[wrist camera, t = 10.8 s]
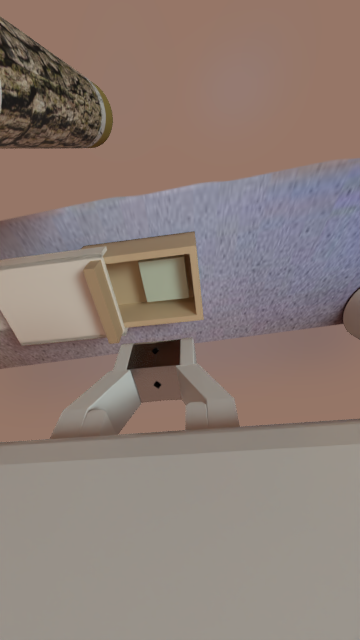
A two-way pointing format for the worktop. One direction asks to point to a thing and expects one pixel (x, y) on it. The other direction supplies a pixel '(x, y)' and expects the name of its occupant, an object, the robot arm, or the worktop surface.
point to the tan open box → (155, 279)
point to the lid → (60, 297)
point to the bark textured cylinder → (46, 98)
